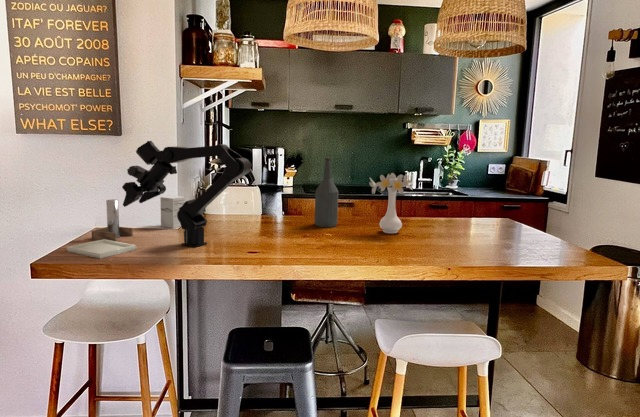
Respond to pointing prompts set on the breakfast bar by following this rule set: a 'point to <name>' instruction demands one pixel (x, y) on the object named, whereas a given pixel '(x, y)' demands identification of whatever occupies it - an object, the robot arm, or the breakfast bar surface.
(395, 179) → the flower vase
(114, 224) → the pin
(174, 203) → the supplement box
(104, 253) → the tray
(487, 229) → the breakfast bar surface
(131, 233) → the brown u-shaped frame
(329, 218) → the bottle
